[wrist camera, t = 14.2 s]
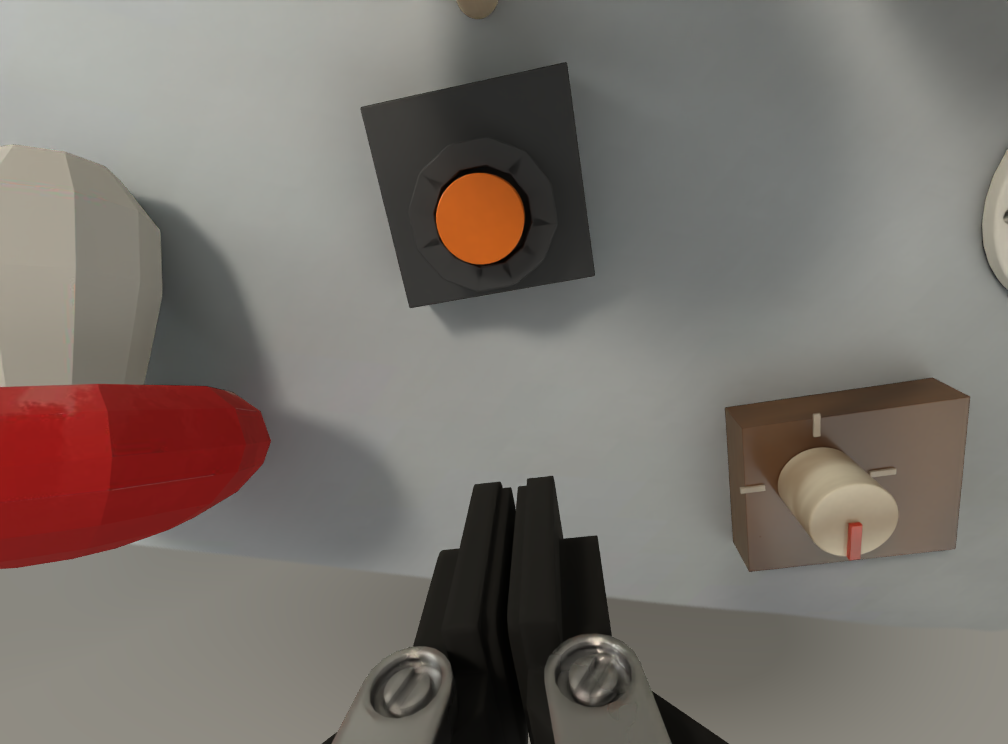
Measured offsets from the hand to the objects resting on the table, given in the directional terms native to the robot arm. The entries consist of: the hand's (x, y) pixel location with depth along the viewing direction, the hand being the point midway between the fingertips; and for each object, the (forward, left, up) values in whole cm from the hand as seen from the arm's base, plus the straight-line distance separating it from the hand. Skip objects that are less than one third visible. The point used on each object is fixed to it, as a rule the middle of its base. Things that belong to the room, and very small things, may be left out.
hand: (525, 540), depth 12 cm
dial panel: (-17, +13, -22) cm, 31 cm away
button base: (+1, -7, -22) cm, 23 cm away
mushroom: (+23, -12, -20) cm, 33 cm away
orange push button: (+1, -6, -18) cm, 19 cm away
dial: (-15, +12, -19) cm, 27 cm away
